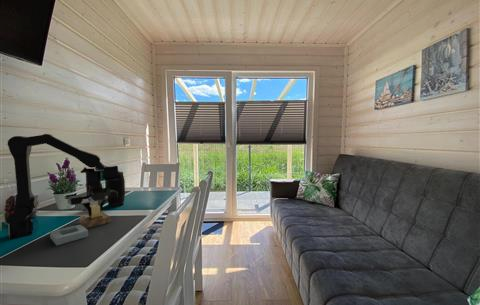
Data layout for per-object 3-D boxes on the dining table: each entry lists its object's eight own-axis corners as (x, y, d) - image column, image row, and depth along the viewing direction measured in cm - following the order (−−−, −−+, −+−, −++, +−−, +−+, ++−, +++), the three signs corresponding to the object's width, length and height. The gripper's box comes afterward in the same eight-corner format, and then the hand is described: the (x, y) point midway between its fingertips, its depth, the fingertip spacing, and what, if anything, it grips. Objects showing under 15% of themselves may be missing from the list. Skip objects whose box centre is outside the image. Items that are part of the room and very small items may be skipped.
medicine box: (84, 210, 122) (84, 194, 122) (93, 207, 126) (92, 192, 126) (93, 212, 119) (92, 196, 118) (101, 209, 123) (101, 194, 122)
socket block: (56, 245, 81) (56, 238, 81) (50, 237, 88) (49, 231, 87) (88, 236, 89) (88, 230, 89) (80, 229, 95) (80, 224, 95)
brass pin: (91, 224, 101) (91, 207, 101) (89, 222, 104) (88, 205, 103) (100, 222, 104) (100, 205, 104) (97, 220, 106) (97, 204, 106)
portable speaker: (128, 204, 133) (127, 171, 132) (111, 208, 125) (110, 173, 124) (120, 202, 138) (119, 170, 137) (104, 205, 130) (103, 172, 129)
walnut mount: (86, 228, 97) (85, 222, 97) (78, 223, 103) (78, 217, 103) (110, 222, 104) (110, 216, 104) (102, 217, 111) (102, 212, 111)
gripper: (74, 187, 90) (75, 225, 91) (122, 180, 105) (123, 213, 106) (66, 183, 97) (68, 219, 98) (112, 178, 112) (113, 209, 113)
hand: (94, 215), depth 104 cm, fingers closed on brass pin, 3 cm apart
